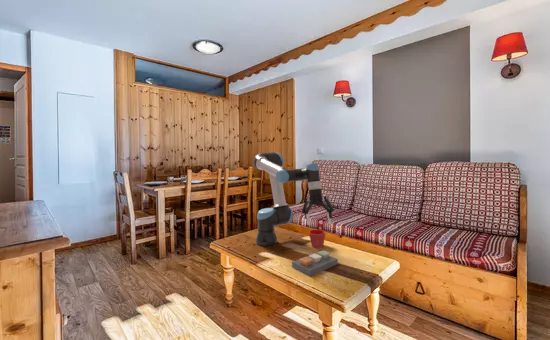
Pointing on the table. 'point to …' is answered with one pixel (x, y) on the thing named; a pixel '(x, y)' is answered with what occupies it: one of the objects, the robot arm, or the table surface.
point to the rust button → (306, 261)
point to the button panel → (315, 265)
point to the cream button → (315, 257)
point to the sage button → (324, 254)
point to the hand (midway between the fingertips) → (319, 224)
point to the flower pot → (317, 238)
